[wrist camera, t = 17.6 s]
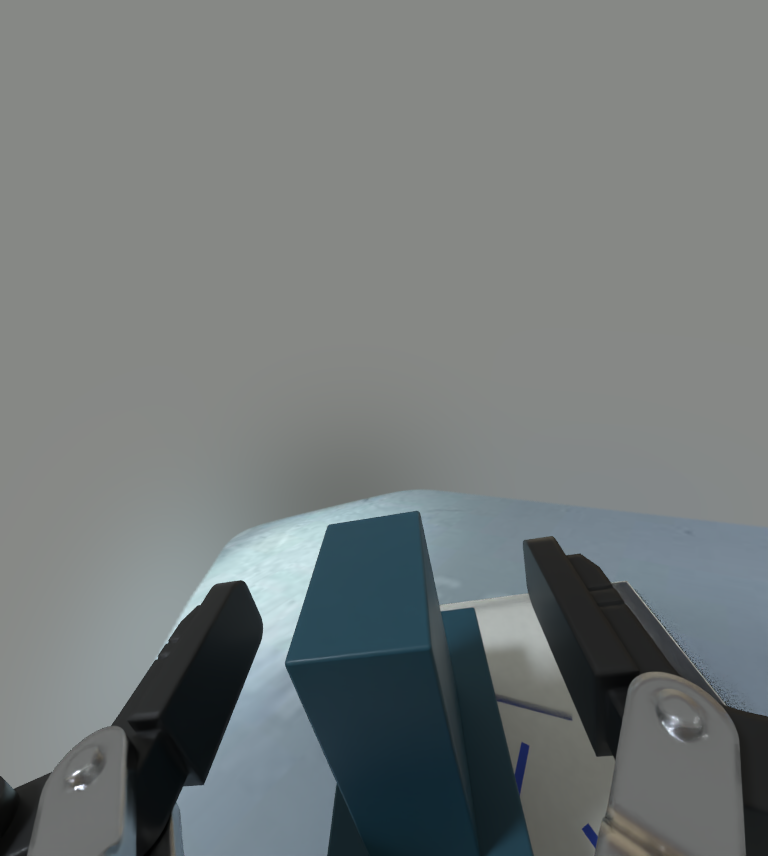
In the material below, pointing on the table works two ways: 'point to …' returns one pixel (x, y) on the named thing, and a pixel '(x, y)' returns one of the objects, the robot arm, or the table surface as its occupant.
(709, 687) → the whiteboard
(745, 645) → the table surface
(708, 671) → the table surface
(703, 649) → the table surface
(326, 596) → the eraser
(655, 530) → the table surface
